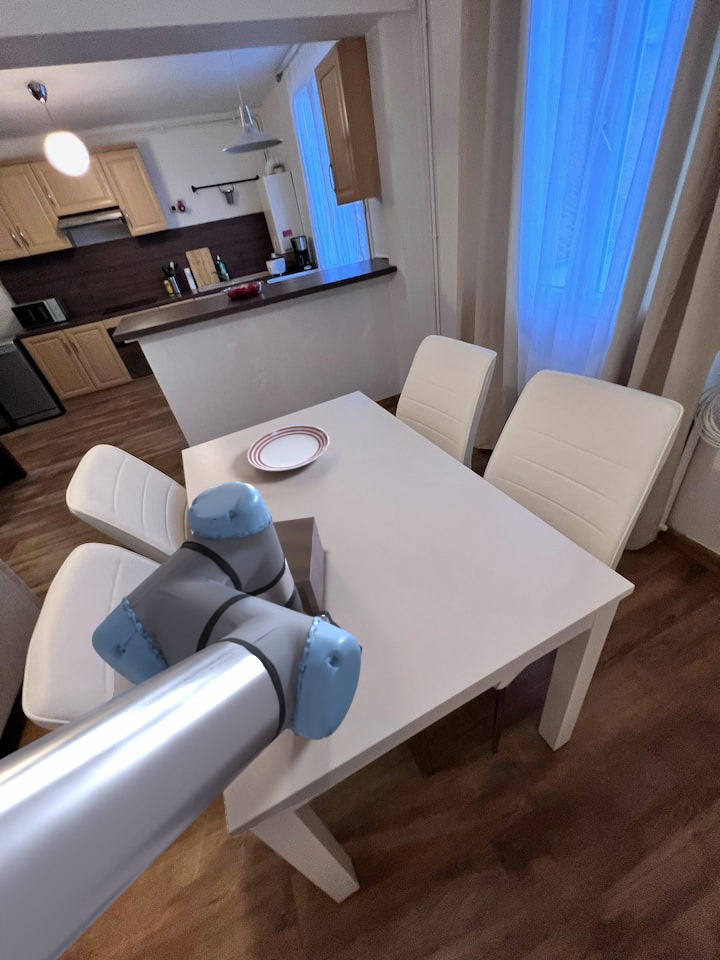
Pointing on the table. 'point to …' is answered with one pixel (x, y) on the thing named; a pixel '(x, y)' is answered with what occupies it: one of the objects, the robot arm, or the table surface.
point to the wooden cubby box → (304, 560)
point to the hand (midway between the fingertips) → (303, 681)
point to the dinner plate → (288, 448)
